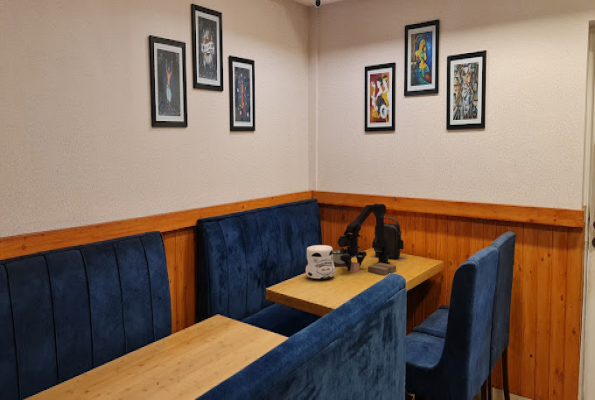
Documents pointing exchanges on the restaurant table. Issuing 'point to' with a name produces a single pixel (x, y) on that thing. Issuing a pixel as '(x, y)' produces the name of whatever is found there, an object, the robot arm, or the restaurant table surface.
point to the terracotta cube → (354, 267)
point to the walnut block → (382, 269)
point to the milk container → (320, 262)
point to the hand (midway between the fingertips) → (353, 269)
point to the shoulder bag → (391, 240)
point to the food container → (338, 259)
